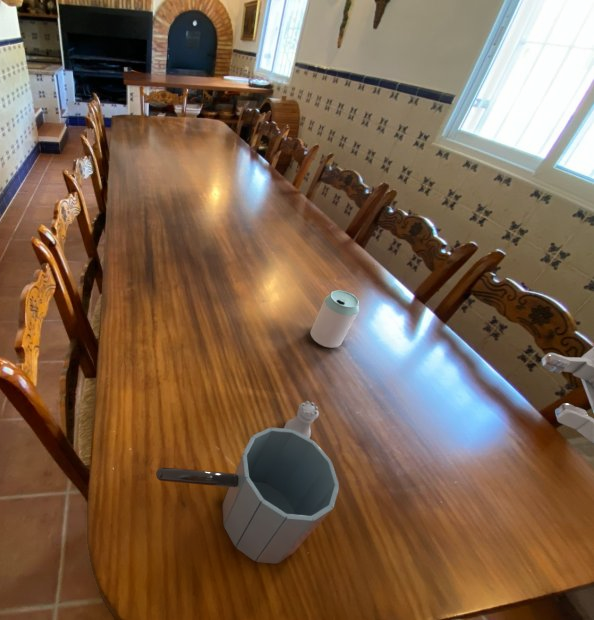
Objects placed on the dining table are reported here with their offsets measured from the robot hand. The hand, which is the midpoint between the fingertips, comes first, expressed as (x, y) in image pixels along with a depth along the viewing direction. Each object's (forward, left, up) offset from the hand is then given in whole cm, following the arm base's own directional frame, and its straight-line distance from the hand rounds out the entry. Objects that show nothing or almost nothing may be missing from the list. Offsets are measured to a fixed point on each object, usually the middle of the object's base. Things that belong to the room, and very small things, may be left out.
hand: (552, 383), depth 42 cm
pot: (+13, +33, -25) cm, 44 cm away
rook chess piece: (+17, +13, -26) cm, 34 cm away
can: (+31, -11, -26) cm, 42 cm away
